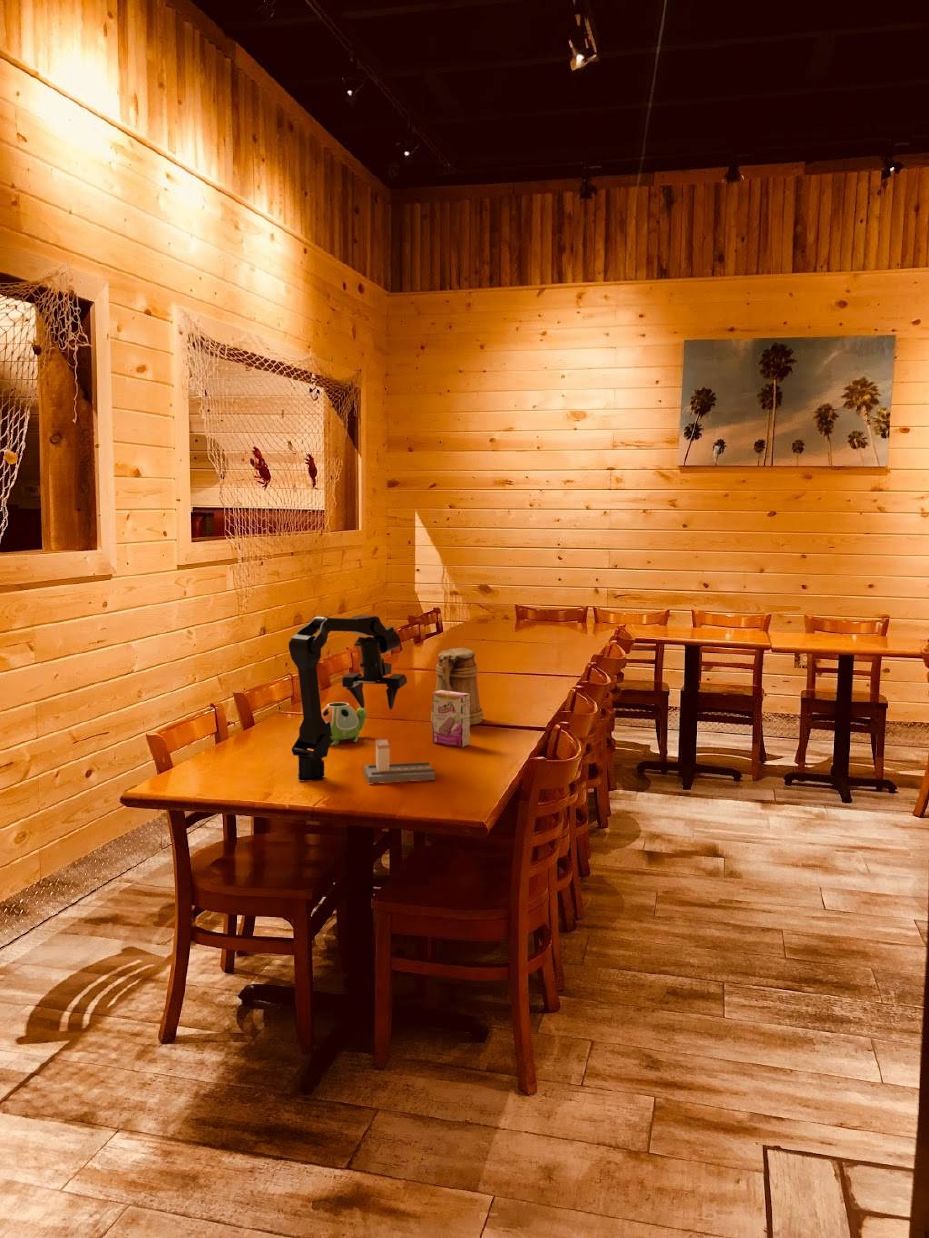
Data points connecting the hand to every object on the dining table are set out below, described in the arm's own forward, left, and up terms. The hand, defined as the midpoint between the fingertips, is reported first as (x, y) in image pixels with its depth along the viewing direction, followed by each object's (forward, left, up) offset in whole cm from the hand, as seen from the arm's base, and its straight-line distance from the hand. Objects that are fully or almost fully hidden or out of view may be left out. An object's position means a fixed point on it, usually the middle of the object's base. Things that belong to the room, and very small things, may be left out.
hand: (377, 708), depth 288 cm
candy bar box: (+24, +12, -15) cm, 31 cm away
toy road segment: (+3, -21, -15) cm, 26 cm away
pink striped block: (-1, -21, -13) cm, 25 cm away
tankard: (+31, +41, -15) cm, 54 cm away
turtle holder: (-9, +24, -15) cm, 29 cm away
